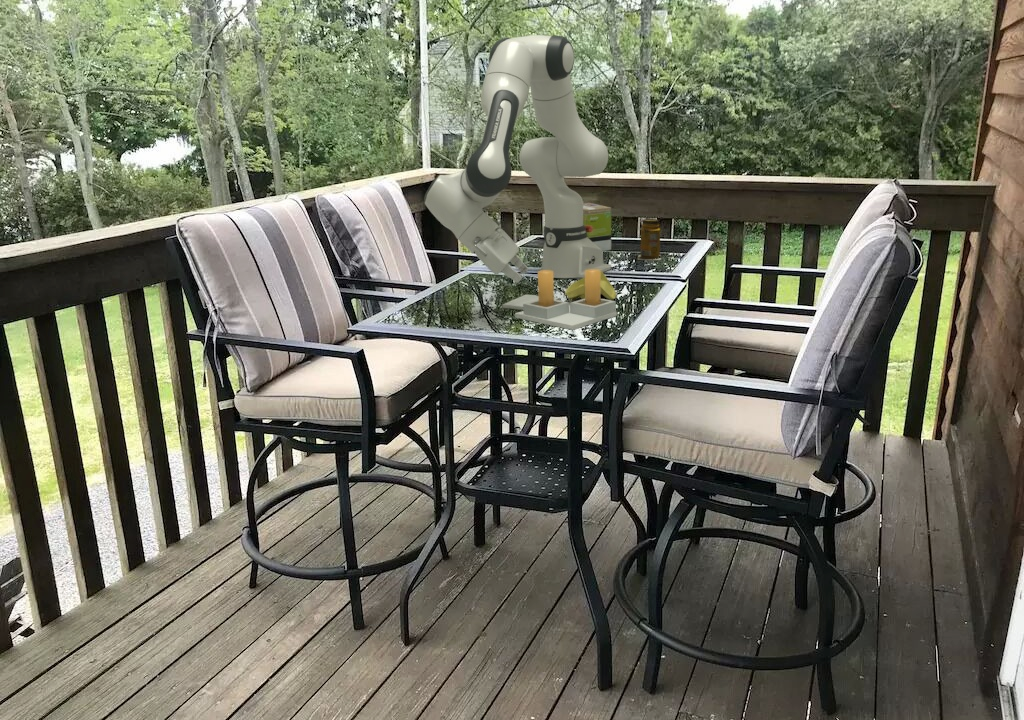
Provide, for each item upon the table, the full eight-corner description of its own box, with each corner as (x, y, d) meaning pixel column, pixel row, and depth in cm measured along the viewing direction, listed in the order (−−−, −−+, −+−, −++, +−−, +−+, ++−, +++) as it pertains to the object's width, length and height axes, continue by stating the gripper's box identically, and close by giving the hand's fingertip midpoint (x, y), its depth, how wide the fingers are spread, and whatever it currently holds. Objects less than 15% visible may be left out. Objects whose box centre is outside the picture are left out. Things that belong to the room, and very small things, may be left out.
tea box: (564, 247, 285) (564, 204, 280) (589, 244, 288) (589, 202, 284) (586, 253, 271) (586, 208, 267) (612, 250, 275) (612, 206, 271)
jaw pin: (546, 310, 195) (545, 269, 192) (557, 312, 193) (556, 271, 189) (535, 313, 193) (534, 272, 189) (546, 316, 190) (545, 274, 187)
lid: (528, 296, 215) (528, 292, 214) (562, 299, 210) (562, 295, 209) (502, 307, 204) (502, 303, 203) (537, 311, 199) (537, 307, 198)
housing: (559, 304, 205) (559, 261, 201) (616, 315, 192) (617, 269, 189) (515, 317, 194) (513, 271, 191) (572, 330, 182) (571, 281, 178)
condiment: (661, 255, 264) (662, 218, 260) (660, 260, 256) (661, 222, 252) (638, 255, 265) (638, 218, 261) (637, 260, 257) (637, 222, 253)
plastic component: (570, 284, 217) (604, 267, 214) (582, 308, 218) (616, 292, 215) (562, 295, 198) (599, 277, 195) (575, 322, 199) (612, 305, 196)
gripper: (480, 232, 179) (525, 275, 180) (497, 218, 198) (538, 258, 199) (461, 252, 181) (506, 295, 182) (480, 237, 200) (520, 276, 201)
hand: (523, 276), depth 191 cm, fingers open, 8 cm apart
